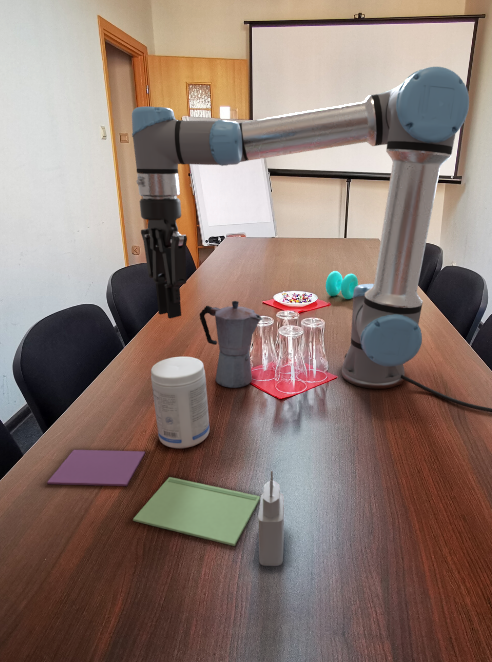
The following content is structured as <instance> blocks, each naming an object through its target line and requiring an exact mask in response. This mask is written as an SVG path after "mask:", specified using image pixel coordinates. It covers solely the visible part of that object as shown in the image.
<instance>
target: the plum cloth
mask: <svg viewBox="0 0 492 662" xmlns="http://www.w3.org/2000/svg"><path fill="white" fill-rule="evenodd" d="M145 455H146V450H145V451H144V450H143V451H141V450H102V449H101V450H99V449H97V450H96V449H73V450H72V451H71V452H70V454H69V455H68V456H67V457H66V459H65V460H64V461H63V462H62V463H61V465H60V466H59V467H58V468H57V469H56V471H55V472H54V473H53V474H52V476H51V477H50V478H49V479H48V481H47V482H46V484H47V485H65V486H66V485H67V486H104V487H105V486H106V487H107V486H109V487H128V485H129V484H130V481H131V480H132V478H133V476H134V474H135V472H136V471H137V470H138V468H139V466H140V463H141V462H142V460H143V459H144V457H145Z"/></svg>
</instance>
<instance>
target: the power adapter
mask: <svg viewBox="0 0 492 662" xmlns="http://www.w3.org/2000/svg"><path fill="white" fill-rule="evenodd" d="M257 517H258V518H257V519H258V520H257V521H258V561H259V564H260V565H262V566H263V567H264V566H265V567H267V566H268V567H269V566H270V567H277V566H281V565H282V564H283V563H284V562H283V561H284V543H285V541H284V540H285V496H284V494H283V493H282V492H281V485H280V483H278V482H277V481H276V480H274V471H273V470H271V471H270V480H268V481H267V482H265V483H264V484H263V491H262V493H261V494H260V500H259V507H258V516H257Z"/></svg>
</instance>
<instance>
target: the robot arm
mask: <svg viewBox="0 0 492 662" xmlns="http://www.w3.org/2000/svg"><path fill="white" fill-rule="evenodd" d="M469 108H470V95H469V91H468V87H467V86H466V84H465V82H464V81H463V79H462V78H461V77H460V76H459V74H457V73H456V72H455V71H454V70H451V69H449V68H448V67H443V66H429V67H424V68H422V69H419V70H416V71H414V72H413V73H411V74H410V75H409V76H408V77H406V78H405V80H404V81H403V82H402V83H400V84H399V85H398V86H395V87H394V88H392V89H390V90H387V91H384V92H380V93H376V94H370V95H369V94H368V96H367V97H365V99H364V100H363V101H361V102H355V103H349V104H344V105H343V104H342V105H338V106H332V107H326V108H319V109H314V110H307V111H302V112H295V113H289V114H283V115H277V116H271V117H266V118H259V119H254V120H249V121H247V120H246V121H242V122H238V121H235V120H234V121H233V120H223V119H217V120H179V119H176V117H175V112H174V110H173V109H172V108H169V107H164V106H137V107H135V108H134V109H133V110H132V111H131V127H132V133H131V137H132V141H133V151H134V157H135V168H136V176H137V178H136V181H135V182H136V184H137V187H138V195H140V196H141V197H142V198H140V200H139V210H140V211H139V212H140V217H141V218H142V219H143V220H146V221H147V228H143V229H141V230H140V235H141V238H142V241H143V247H144V248H143V249H144V253H145V261H146V268H147V275H148V277H149V279H152V280H153V282H154V283H155V290H156V301H157V311H158V315H165V314H167V318H168V319H169V320H170V319H174V318H179V317H181V316H182V303H181V289H180V287H181V286H182V285H187V250H186V249H187V243H188V236H187V234H181V233H180V232H179V227H178V224H177V220H178V219H180V218H181V217H182V206H181V200H180V198H178V196H180V195H181V187H180V176H179V165H197V166H198V165H201V166H202V165H203V166H221V167H223V166H226V167H227V166H231V165H235V166H236V165H238V164H240V163H244V162H249V161H254V160H262V159H267V158H275V157H280V156H286V155H293V154H299V153H304V152H305V153H306V152H311V151H318V150H324V149H330V148H336V147H343V146H351V145H356V144H362V143H368V145H370V146H371V147H377V146H385V145H386V150H385V151H386V153H387V155H388V156H389V157H390V159H391V160H392V165H391V172H390V178H389V184H388V190H387V191H388V192H387V196H386V202H385V203H386V204H385V211H384V218H383V223H382V230H381V235H380V242H379V249H378V256H377V262H376V267H375V268H376V270H375V275H374V281H373V283H363V284H362V283H361V284H358V286H356V287H355V289H354V294H353V297H352V298H351V299H352V313H351V332H350V345H349V348H348V350H347V353H345V354H344V355H345V356H344V360H343V363H342V366H341V376H342V378H343V379H344V380H345V381H347V382H348V383H349V384H351V385H354V386H357V387H360V388H365V389H370V390H371V389H372V390H382V389H383V390H385V389H391V388H394V387H397V386H399V385H401V384H402V383H404V381H405V382H407V383H410V384H412V385H414V386H415V387H417V388H419V389H421V390H423V391H425V392H428V393H429V394H432V395H435V396H436V397H439V398H441V399H443V400H446V401H448V402H450V403H452V404H456V405H458V406H462V407H466V408H469V409H473V410H478V411H483V412H487V413H488V412H489V413H492V408H491V407H488V406H487V407H486V406H482V405H478V404H473V403H470V402H465V401H463V400H459V399H456V398H454V397H451V396H448V395H446V394H443V393H441V392H439V391H436V390H434V389H432V388H430V387H428V386H425V385H424V384H422V383H420V382H418V381H416V380H414V379H412V378H410V377H408V376H406V375H405V373H406V371H405V367H404V365H405V364H406V363H408V362H410V361H411V360H413V359H414V358H415V357H416V355H417V354H418V353H419V351H420V349H421V346H422V344H423V336H422V335H423V333H422V329H421V327H420V326H419V325H420V318H421V315H422V314H421V313H422V307H423V304H424V303H423V299H422V298H421V296H420V295H419V293H418V287H419V281H420V276H421V271H422V266H423V261H424V254H425V250H426V246H427V245H426V244H427V240H428V234H429V229H430V224H431V218H432V213H433V207H434V203H435V202H434V201H435V197H436V191H437V188H438V187H437V186H438V181H439V176H440V170H441V166H443V164H444V163H445V162H447V161H448V160H449V159H451V157H452V154H453V149H454V144H455V138H456V135H457V133H458V132H459V130H461V128H462V126H463V124H465V121H466V118H467V116H468V113H469V110H470V109H469Z"/></svg>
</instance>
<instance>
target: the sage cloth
mask: <svg viewBox="0 0 492 662" xmlns="http://www.w3.org/2000/svg"><path fill="white" fill-rule="evenodd" d="M260 499H261V495H260V496H259V495H255V494H252V493H246V492H242V491H237V490H233V489H232V490H231V489H227V488H223V487H218V486H214V485H210V484H204V483H200V482H195V481H190V480H185V479H180V478H177V477H172V476H169V477H168V478H167V479H166V480H165V482H164V483H163V484H162V485H161V486H160V487H159V488H158V490H157V491H155V493H154V494H153V495H152V496H151V498H150V499H149V500H148V501H147V502H145V503H146V504H145V505H144V506H142V507H141V509H140V510H139V511H138V513H137V514H136V515H135V516H134V517H133V519H132V521H133V522H136V523H140V524H144V525H148V526H152V527H156V528H160V529H165V530H168V531H173V532H176V533H180V534H184V535H188V536H193V537H196V538H200V539H204V540H207V541H213V542H216V543H221V544H224V545H229V546H233V547H235V546H236V545H237V542H238V541H239V539H240V537H241V536H242V533H243V532H244V530H245V528H246V526H247V524H248V522H249V520H250V519H251V517H252V515H253V513H254V511H255V509H256V507H257V505H258V503H260Z"/></svg>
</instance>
